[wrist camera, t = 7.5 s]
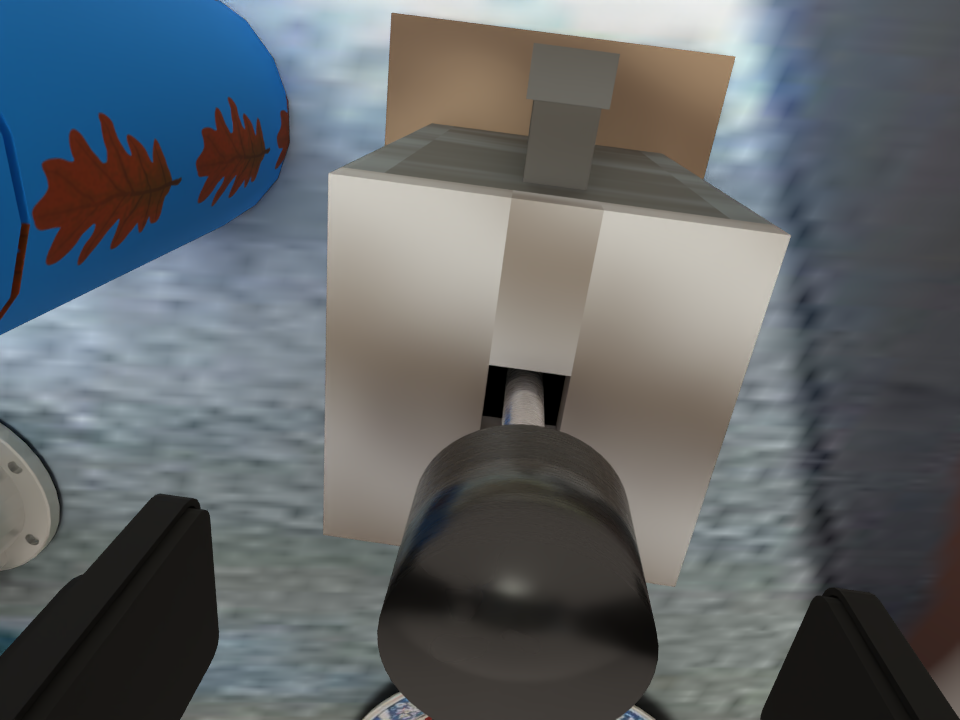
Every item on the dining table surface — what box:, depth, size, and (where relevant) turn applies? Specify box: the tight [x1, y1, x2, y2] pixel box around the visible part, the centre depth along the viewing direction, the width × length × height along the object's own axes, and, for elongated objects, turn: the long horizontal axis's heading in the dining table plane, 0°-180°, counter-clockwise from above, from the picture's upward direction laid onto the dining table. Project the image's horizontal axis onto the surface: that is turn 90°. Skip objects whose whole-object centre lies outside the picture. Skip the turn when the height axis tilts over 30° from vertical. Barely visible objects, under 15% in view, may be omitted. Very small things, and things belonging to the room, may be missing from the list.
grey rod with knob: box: [377, 367, 658, 720], centre depth 18 cm, size 4×4×20 cm
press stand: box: [323, 13, 791, 587], centre depth 23 cm, size 18×14×16 cm
